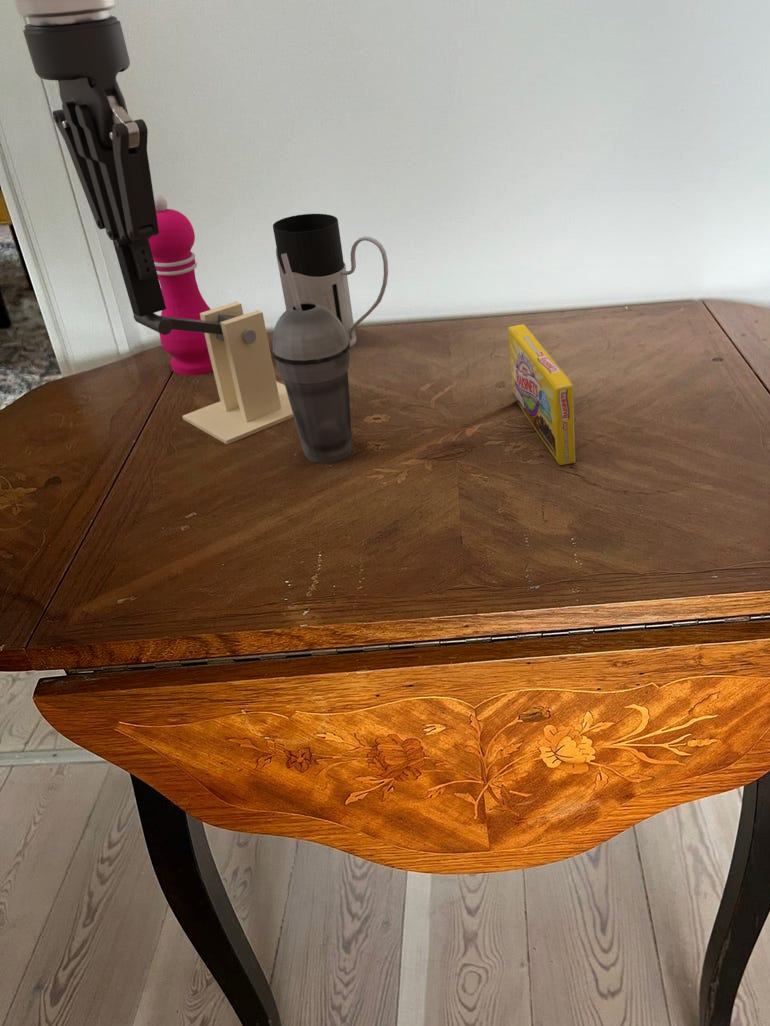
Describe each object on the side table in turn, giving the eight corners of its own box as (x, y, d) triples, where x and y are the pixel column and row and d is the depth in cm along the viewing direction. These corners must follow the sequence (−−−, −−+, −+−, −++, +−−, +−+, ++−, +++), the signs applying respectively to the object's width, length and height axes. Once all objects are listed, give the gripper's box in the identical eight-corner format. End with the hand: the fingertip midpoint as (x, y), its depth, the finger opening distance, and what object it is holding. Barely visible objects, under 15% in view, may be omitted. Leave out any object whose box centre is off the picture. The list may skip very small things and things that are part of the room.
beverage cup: (346, 481, 92) (312, 270, 79) (280, 472, 94) (237, 265, 82) (377, 447, 97) (351, 244, 85) (315, 439, 99) (280, 240, 87)
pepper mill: (239, 372, 114) (200, 194, 102) (182, 389, 111) (134, 207, 99) (216, 354, 119) (176, 182, 107) (161, 370, 116) (113, 195, 104)
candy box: (510, 399, 104) (507, 325, 99) (528, 396, 105) (527, 322, 100) (555, 467, 92) (555, 386, 87) (576, 463, 92) (577, 382, 87)
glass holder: (310, 333, 123) (290, 210, 114) (411, 342, 119) (398, 215, 110) (277, 359, 117) (252, 231, 108) (382, 369, 113) (366, 237, 103)
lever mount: (228, 452, 98) (201, 340, 91) (184, 426, 103) (156, 319, 96) (322, 413, 104) (304, 305, 97) (276, 391, 110) (256, 287, 102)
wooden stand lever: (157, 339, 90) (159, 313, 89) (132, 327, 93) (134, 301, 92) (258, 348, 98) (261, 324, 97) (232, 337, 101) (234, 314, 100)
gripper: (-8, 20, 78) (82, 307, 93) (59, 27, 70) (147, 339, 85) (78, 9, 82) (152, 286, 96) (151, 14, 74) (219, 315, 89)
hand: (149, 311), depth 91 cm, fingers closed
